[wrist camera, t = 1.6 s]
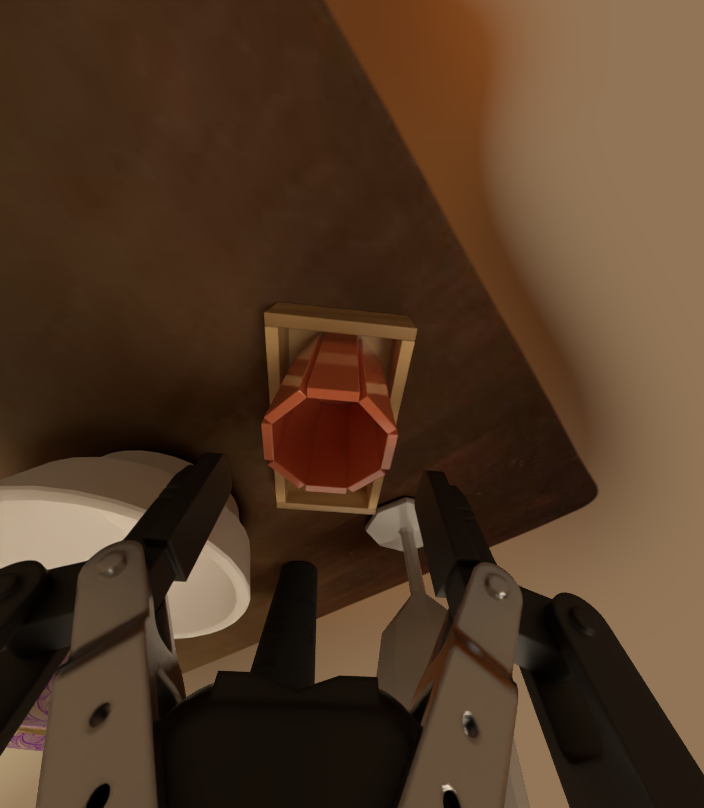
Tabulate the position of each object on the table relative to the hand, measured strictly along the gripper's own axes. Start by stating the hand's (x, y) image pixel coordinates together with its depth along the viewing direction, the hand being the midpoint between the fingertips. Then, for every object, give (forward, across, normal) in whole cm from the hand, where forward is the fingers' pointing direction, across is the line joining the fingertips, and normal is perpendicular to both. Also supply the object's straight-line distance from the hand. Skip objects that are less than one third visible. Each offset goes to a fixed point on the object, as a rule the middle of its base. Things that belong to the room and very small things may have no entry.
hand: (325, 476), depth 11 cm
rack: (+11, 0, +4) cm, 12 cm away
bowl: (+11, +17, +17) cm, 27 cm away
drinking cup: (+12, +3, +30) cm, 32 cm away
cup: (+11, 0, 0) cm, 11 cm away
